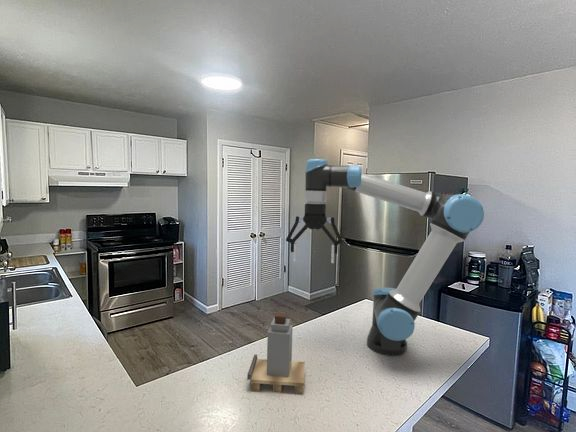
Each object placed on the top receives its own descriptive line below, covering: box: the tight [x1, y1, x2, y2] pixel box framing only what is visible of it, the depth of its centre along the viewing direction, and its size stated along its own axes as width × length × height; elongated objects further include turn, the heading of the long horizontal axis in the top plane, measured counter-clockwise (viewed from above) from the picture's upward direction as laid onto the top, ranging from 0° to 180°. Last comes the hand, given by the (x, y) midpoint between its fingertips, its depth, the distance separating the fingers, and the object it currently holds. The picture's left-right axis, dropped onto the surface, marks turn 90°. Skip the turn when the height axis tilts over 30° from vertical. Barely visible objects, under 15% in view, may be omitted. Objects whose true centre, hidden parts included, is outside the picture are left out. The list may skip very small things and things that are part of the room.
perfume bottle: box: [266, 312, 293, 377], centre depth 101 cm, size 7×7×18 cm
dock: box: [247, 354, 306, 395], centre depth 102 cm, size 17×12×5 cm
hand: (313, 261), depth 117 cm, fingers open, 13 cm apart
